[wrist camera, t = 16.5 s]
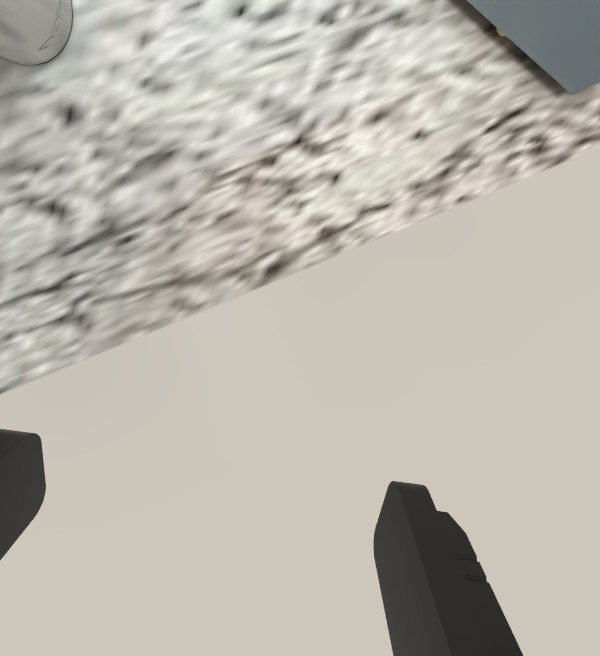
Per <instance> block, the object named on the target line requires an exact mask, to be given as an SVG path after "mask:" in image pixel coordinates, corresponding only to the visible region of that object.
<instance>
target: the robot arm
mask: <svg viewBox="0 0 600 656" xmlns="http://www.w3.org/2000/svg"><path fill="white" fill-rule="evenodd" d="M71 25H72V6H71V0H0V57H3V58H5V59H8V60H10V61H12V62H15V63H19V64H24V65H37V64H41V63H44V62H47V61H49V60H50V59H52V58H53V57H55V56H56V55H57V54H58V53H59V52H60V51H61V50H62V48H63V47H64V45H65V43H66V41H67V39H68V37H69V33H70V29H71ZM45 489H46V483H45V473H44V464H43V453H42V443H41V439H40V437H39V435H37V434H35V433H27V432H20V431H12V430H5V429H0V560H1V559H2V557H3V556H4V555H5V554H6V553H7V551H8V550H9V549H10V547H11V546H12V545H13V544H14V542H15V541H16V540H17V539H18V537H19V536H20V535H21V534H22V532H23V531H24V530H25V529H26V527H27V526H28V525H29V524H30V522H31V521H32V520H33V519H34V517H35V516H36V514H37V513H38V511H39V509H40V507H41V505H42V502H43V500H44V496H45V491H46V490H45ZM374 558H375V563H376V568H377V573H378V578H379V583H380V589H381V594H382V599H383V604H384V609H385V614H386V619H387V624H388V629H389V635H390V640H391V645H392V650H393V655H394V656H523V654H522V652H521V650H520V648H519V646H518V644H517V641H516V639H515V637H514V635H513V633H512V631H511V629H510V627H509V624H508V622H507V620H506V618H505V616H504V614H503V612H502V610H501V607H500V605H499V603H498V601H497V599H496V597H495V595H494V592H493V590H492V588H491V586H490V584H489V583H487V581H486V575H485V573H484V571H483V569H482V567H481V565H480V563H479V562H477V556H476V554H475V552H474V550H473V548H472V546H471V544H470V541H469V539H468V537H467V535H466V533H465V532H464V531H463V530H462V529H461V527H460V526H459V525H458V524H457V523H456V522H455V520H454V519H453V518H452V517H451V516H450V515H449V514H448V513H447V512H441V511H437V510H436V508H435V505H434V503H433V501H432V498H431V496H430V493H429V491H428V489H427V488H426V486H424V485H419V484H411V483H404V482H396V481H392V482H391V483H390V484H389V486H388V489H387V493H386V496H385V499H384V502H383V505H382V509H381V512H380V515H379V518H378V522H377V525H376V529H375V533H374Z"/></svg>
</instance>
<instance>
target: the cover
mask: <svg viewBox="0 0 600 656" xmlns="http://www.w3.org/2000/svg"><path fill="white" fill-rule="evenodd" d="M467 1H468V2H469V3H470V4H471V5H472V6H473V7H474V8H475V9H477V10H478V11H479V12H480V13H481V14H482V15H483V16H484V17H486V18H487V19H488V20H489V21H490V22H491V23H492V24H493V25H494V26H496V27H497V28H498V29H499V30H500V31H501V32H502V33H503V34H504V35H506V36H507V37H508V38H509V39H510V40H511V41H512V42H513V43H514V44H516V45H517V46H518V47H519V48H520V49H521V50H522V51H523V52H525V53H526V54H527V55H528V56H529V57H530V58H531V59H532V60H533V61H535V62H536V63H537V64H538V65H539V66H540V67H541V68H542V69H543V70H545V71H546V72H547V73H548V74H549V75H550V76H551V77H552V78H553V79H555V80H556V81H557V82H558V83H559V84H560V85H561V86H562V87H564V88H565V89H566V90H567V91H568V92H569V93H570V94H571V95H572V94H575V93H577V92H579V91H581V90H584V89H586V88H588V87H590V86H593V85H595V84H597V83H599V82H600V0H467Z"/></svg>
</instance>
